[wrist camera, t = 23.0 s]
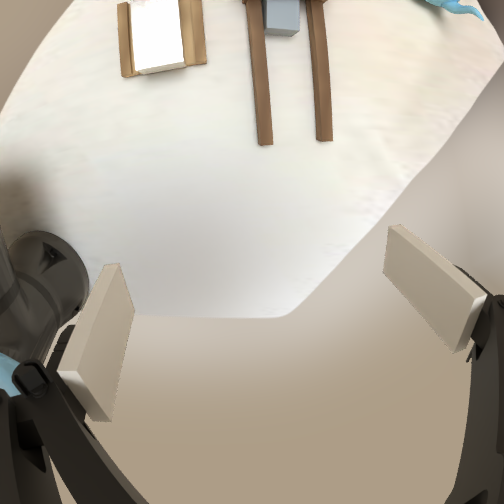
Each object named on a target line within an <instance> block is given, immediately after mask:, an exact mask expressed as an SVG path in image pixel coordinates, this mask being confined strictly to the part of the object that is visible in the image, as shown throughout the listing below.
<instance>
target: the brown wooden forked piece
mask: <svg viewBox="0 0 504 504" xmlns="http://www.w3.org/2000/svg"><path fill="white" fill-rule="evenodd" d="M326 1H327V0H305V2H306V10H307V19H308V28H309V38H310V48H311V59H312V72H313V85H314V100H315V118H316V140H319V141H322V142H325V141H333V130H332V106H331V88H330V73H329V61H328V49H327V39H326V29H325V20H324V12H323V3H324V2H326ZM242 3H243V4H246V11H247V21H248V32H249V42H250V53H251V64H252V75H253V87H254V98H255V110H256V122H257V134H258V144H259V145H261V146H263V145H273V132H272V119H271V106H270V93H269V81H268V69H267V58H266V47H265V36H264V26H263V16H262V7H261V0H242Z"/></svg>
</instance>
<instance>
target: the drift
mask: <svg viewBox="0 0 504 504" xmlns="http://www.w3.org/2000/svg"><path fill="white" fill-rule="evenodd" d="M262 16H263V26H264V34H267V35H281V36H293V35H294V34H296V33H297V32H298V31H300V13H299V0H262Z"/></svg>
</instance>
